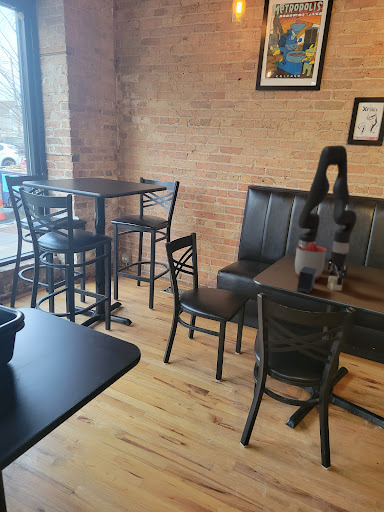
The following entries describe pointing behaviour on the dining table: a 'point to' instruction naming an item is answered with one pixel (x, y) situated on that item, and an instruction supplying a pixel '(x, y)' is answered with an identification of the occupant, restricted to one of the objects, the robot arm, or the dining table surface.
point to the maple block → (334, 283)
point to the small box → (306, 280)
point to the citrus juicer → (310, 258)
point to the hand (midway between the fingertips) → (335, 282)
